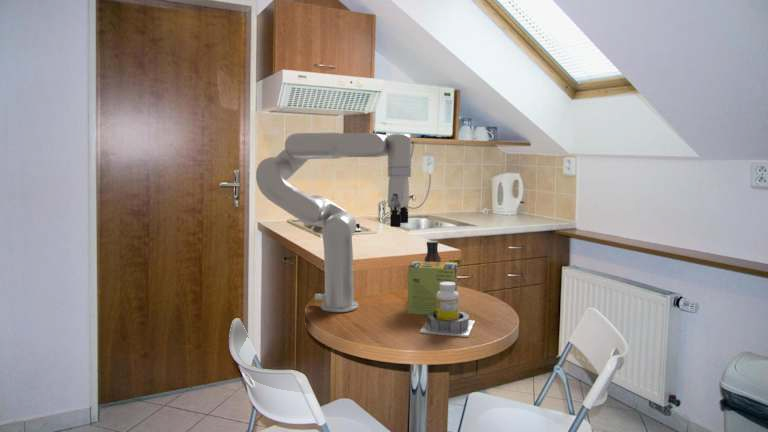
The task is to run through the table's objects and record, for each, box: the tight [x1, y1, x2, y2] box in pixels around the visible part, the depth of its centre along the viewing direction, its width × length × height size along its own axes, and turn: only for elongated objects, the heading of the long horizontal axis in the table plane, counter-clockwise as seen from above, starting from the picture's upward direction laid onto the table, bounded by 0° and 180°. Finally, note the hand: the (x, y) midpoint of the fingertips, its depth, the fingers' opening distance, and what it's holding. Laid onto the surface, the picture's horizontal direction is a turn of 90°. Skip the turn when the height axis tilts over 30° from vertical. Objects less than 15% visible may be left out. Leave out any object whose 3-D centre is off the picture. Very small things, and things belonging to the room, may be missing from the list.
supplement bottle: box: [436, 282, 460, 321], centre depth 162 cm, size 7×7×13 cm
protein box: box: [407, 261, 458, 316], centre depth 179 cm, size 10×15×16 cm
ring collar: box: [419, 310, 476, 338], centre depth 162 cm, size 14×14×4 cm
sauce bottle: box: [424, 240, 442, 262], centre depth 199 cm, size 7×6×20 cm
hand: (399, 224), depth 179 cm, fingers open, 9 cm apart
